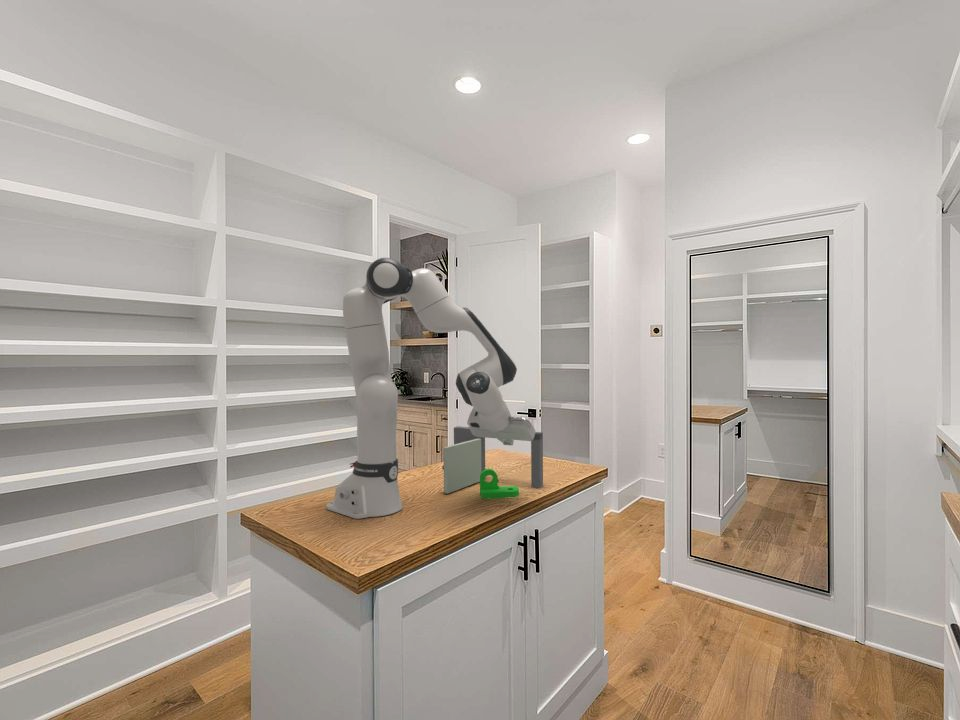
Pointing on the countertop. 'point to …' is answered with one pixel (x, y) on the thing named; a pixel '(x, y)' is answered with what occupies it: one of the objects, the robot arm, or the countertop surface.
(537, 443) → the wall frame
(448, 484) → the door
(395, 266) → the robot arm
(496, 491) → the mechanical part
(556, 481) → the countertop surface
